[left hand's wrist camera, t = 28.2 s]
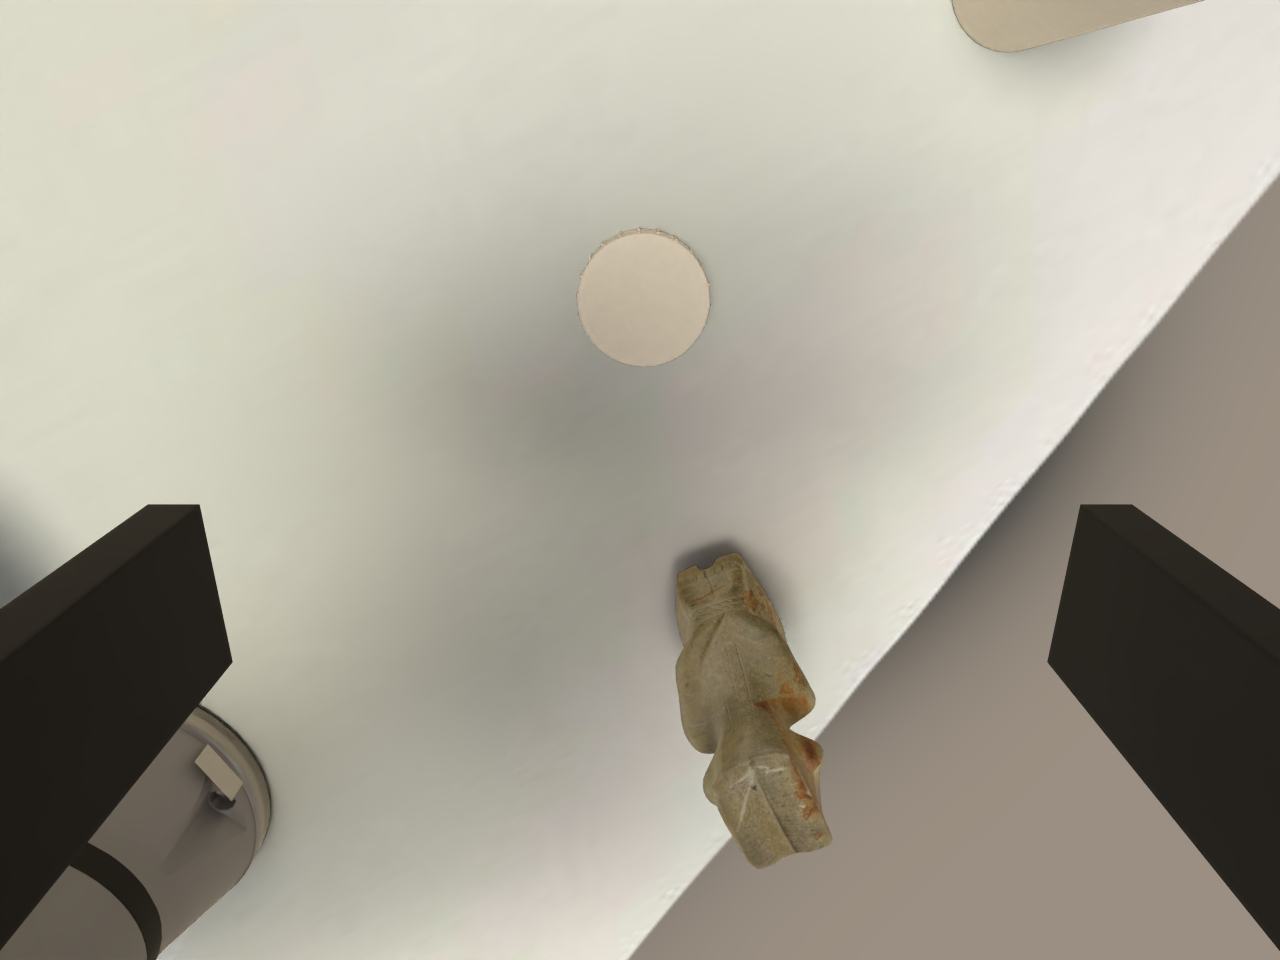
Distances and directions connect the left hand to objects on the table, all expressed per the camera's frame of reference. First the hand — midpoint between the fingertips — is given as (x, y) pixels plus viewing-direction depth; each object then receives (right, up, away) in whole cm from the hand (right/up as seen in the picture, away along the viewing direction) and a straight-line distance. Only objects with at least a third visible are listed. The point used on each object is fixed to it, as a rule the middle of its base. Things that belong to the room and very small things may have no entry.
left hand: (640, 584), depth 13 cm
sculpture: (+5, -5, +32) cm, 32 cm away
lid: (0, +9, +24) cm, 26 cm away
